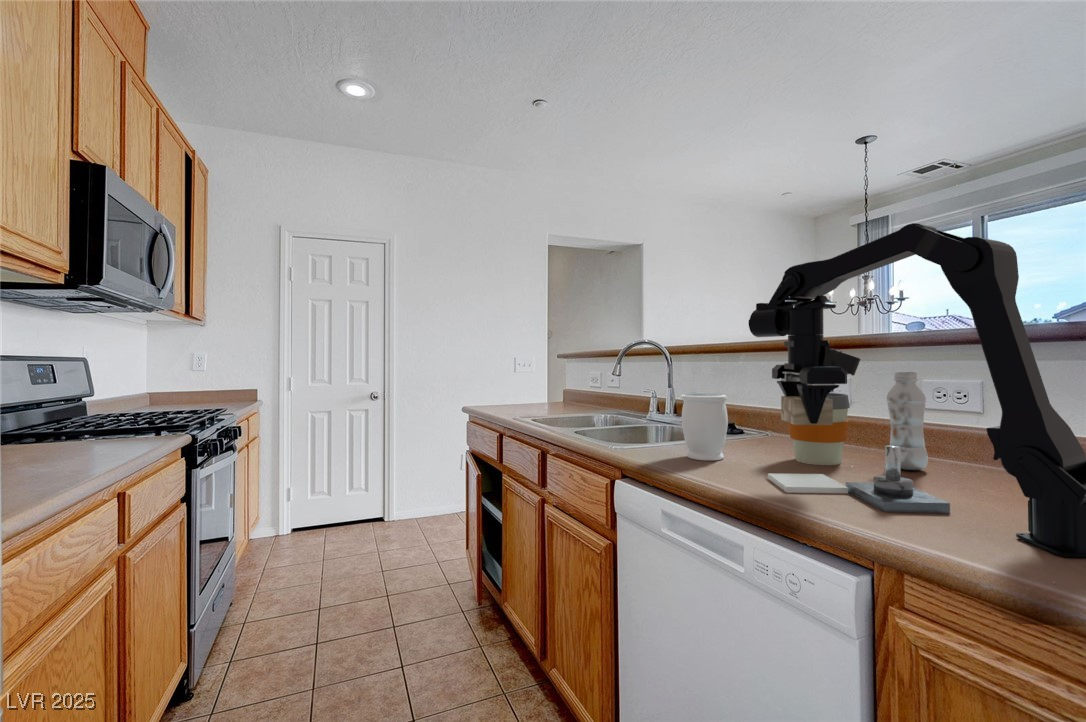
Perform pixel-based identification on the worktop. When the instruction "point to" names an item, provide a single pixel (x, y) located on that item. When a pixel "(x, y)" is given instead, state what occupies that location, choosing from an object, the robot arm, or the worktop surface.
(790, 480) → the tile pad
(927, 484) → the worktop surface
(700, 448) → the jar
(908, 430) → the plastic bottle
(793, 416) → the collar
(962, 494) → the worktop surface
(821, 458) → the reusable coffee cup
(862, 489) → the post stand
